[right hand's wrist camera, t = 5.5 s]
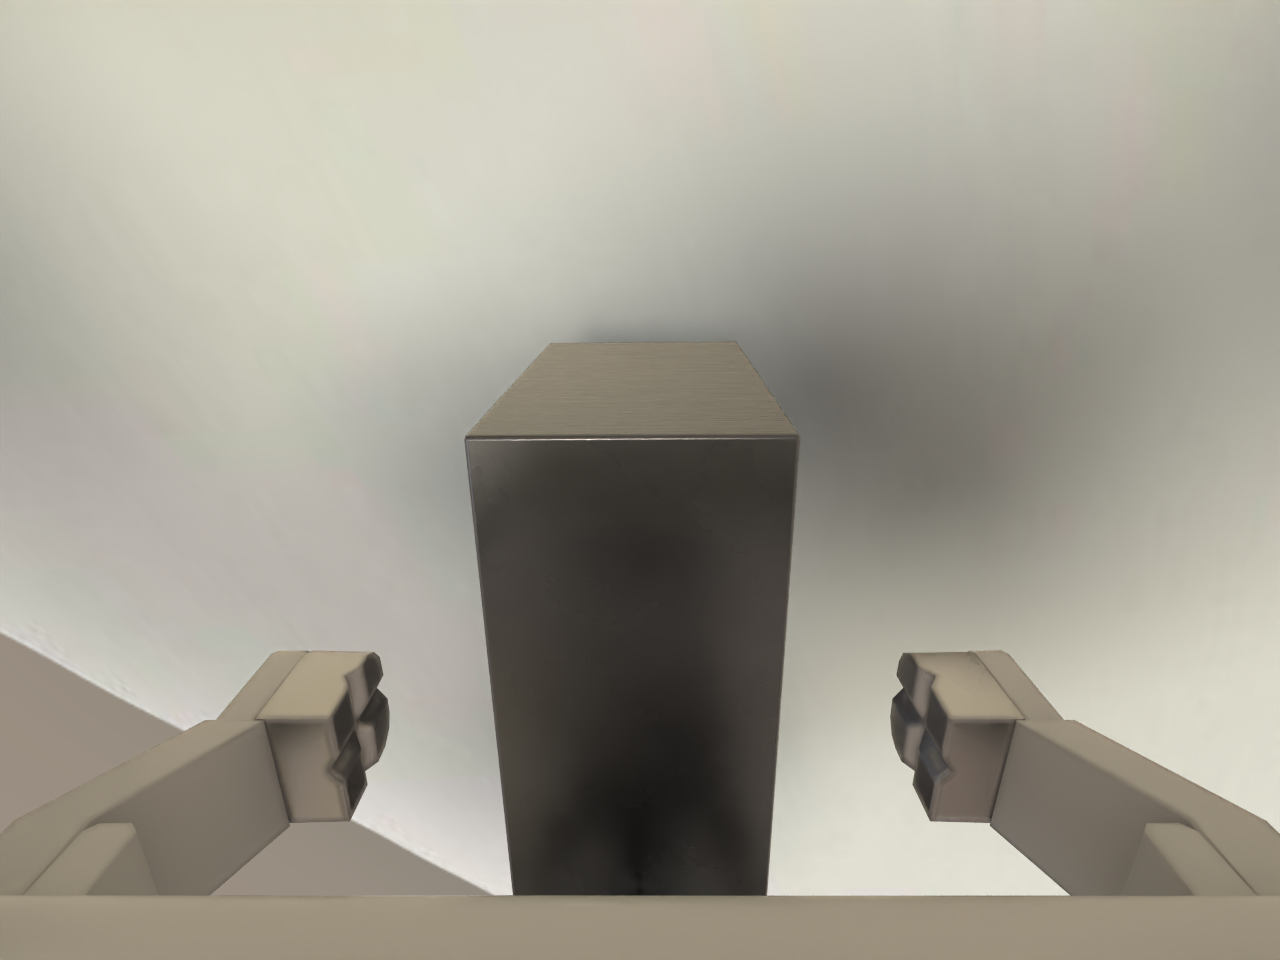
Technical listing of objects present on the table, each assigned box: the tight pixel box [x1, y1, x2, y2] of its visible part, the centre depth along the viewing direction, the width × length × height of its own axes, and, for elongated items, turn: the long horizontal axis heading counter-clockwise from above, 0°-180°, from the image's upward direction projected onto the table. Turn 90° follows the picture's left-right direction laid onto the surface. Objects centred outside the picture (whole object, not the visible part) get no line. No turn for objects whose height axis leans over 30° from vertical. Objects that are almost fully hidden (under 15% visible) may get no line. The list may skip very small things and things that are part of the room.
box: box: [465, 342, 800, 896], centre depth 20 cm, size 22×6×10 cm, turn 1°
